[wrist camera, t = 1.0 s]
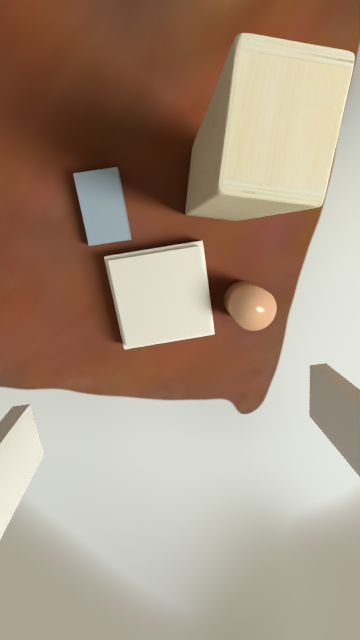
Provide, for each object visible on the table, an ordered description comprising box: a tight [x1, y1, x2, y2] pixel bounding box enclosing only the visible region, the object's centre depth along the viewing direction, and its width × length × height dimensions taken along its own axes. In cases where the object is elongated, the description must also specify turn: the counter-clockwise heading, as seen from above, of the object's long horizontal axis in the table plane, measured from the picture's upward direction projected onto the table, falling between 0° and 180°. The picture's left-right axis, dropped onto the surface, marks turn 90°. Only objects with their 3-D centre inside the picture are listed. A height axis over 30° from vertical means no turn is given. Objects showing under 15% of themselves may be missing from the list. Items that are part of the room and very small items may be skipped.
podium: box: [104, 241, 215, 349], centre depth 38 cm, size 12×12×3 cm
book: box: [73, 167, 132, 246], centre depth 36 cm, size 8×5×2 cm, turn 8°
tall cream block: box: [185, 33, 355, 221], centre depth 27 cm, size 8×7×21 cm
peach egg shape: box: [223, 281, 276, 331], centre depth 38 cm, size 5×5×6 cm
